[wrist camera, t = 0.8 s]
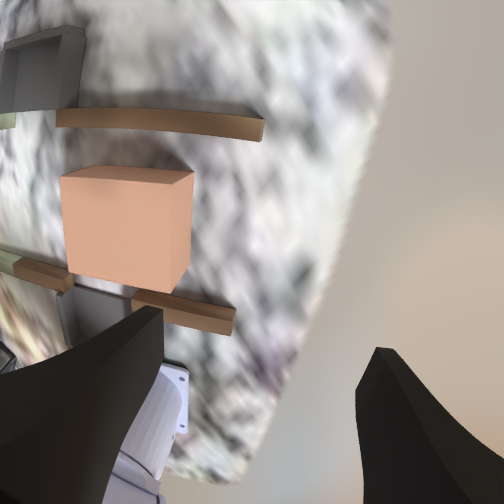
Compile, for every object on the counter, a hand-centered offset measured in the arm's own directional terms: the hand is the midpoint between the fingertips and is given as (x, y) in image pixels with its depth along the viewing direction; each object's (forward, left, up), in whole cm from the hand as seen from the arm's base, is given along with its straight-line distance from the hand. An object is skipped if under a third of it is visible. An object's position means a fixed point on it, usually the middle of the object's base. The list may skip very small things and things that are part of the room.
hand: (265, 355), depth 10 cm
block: (0, +9, -11) cm, 14 cm away
